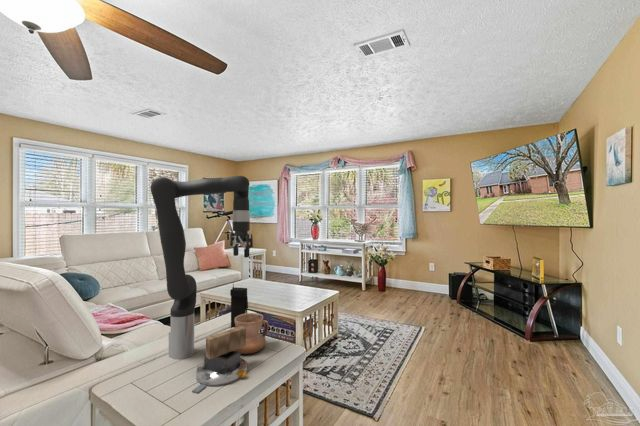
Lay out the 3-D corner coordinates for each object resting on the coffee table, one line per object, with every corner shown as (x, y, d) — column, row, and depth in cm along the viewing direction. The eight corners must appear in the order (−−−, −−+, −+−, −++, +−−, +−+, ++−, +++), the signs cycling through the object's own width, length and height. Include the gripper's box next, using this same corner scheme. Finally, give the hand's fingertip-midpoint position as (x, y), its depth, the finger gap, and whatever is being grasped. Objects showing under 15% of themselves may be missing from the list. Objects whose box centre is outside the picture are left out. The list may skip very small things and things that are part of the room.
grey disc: (185, 378, 107) (185, 358, 107) (221, 356, 123) (221, 339, 124) (226, 392, 99) (226, 370, 99) (259, 367, 115) (260, 348, 115)
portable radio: (250, 332, 149) (250, 282, 149) (244, 337, 143) (244, 285, 143) (235, 331, 151) (235, 281, 151) (229, 336, 145) (229, 284, 145)
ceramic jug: (236, 362, 120) (236, 326, 120) (224, 349, 131) (224, 316, 131) (276, 350, 130) (276, 317, 131) (261, 338, 142) (261, 308, 142)
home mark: (192, 392, 99) (192, 390, 99) (201, 385, 103) (201, 384, 103) (197, 393, 98) (197, 392, 98) (206, 387, 102) (206, 385, 102)
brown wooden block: (241, 326, 120) (205, 337, 108) (245, 327, 118) (209, 339, 106) (241, 343, 119) (205, 356, 108) (245, 345, 117) (209, 359, 106)
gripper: (257, 220, 133) (257, 257, 133) (239, 220, 143) (239, 254, 143) (243, 221, 128) (243, 259, 127) (225, 220, 137) (225, 255, 137)
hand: (241, 256), depth 135 cm, fingers open, 8 cm apart
